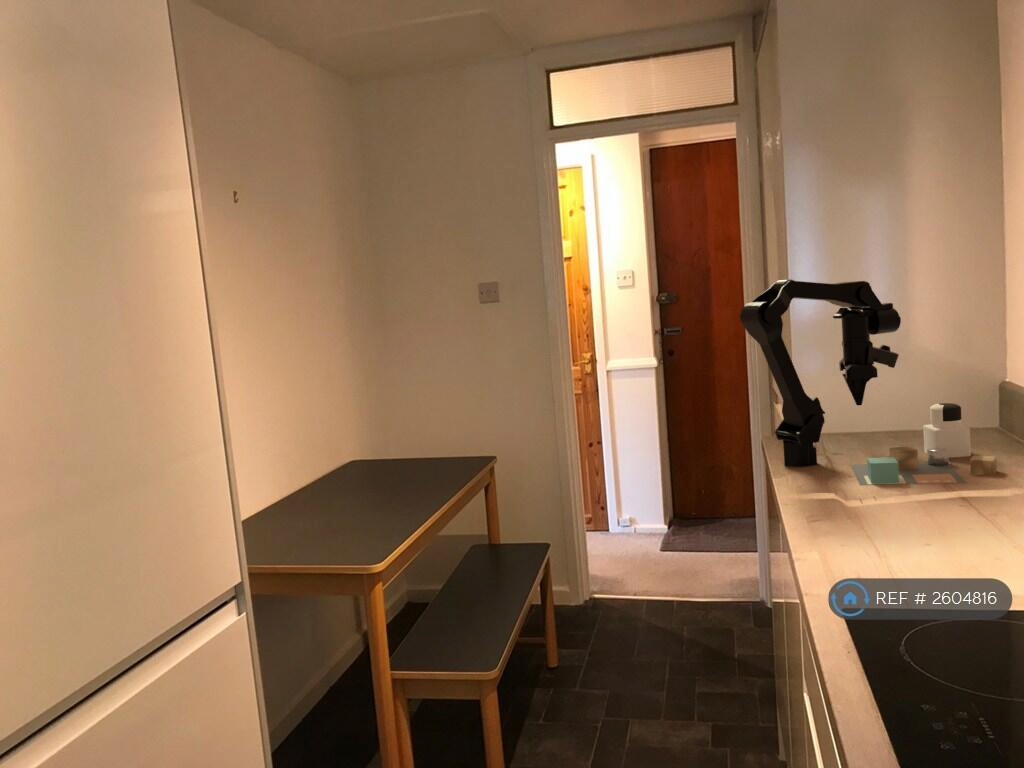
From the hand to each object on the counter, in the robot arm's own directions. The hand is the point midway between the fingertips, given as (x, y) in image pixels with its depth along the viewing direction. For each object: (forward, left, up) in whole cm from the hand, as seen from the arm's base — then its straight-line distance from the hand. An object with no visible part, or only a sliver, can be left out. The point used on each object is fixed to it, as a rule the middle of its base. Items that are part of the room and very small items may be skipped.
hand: (859, 405), depth 191 cm
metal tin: (+14, -13, -11) cm, 22 cm away
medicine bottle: (+17, -4, -12) cm, 21 cm away
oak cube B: (+18, -21, -10) cm, 30 cm away
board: (+6, -21, -12) cm, 25 cm away
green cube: (+1, -26, -11) cm, 29 cm away
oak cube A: (+7, -16, -11) cm, 21 cm away
